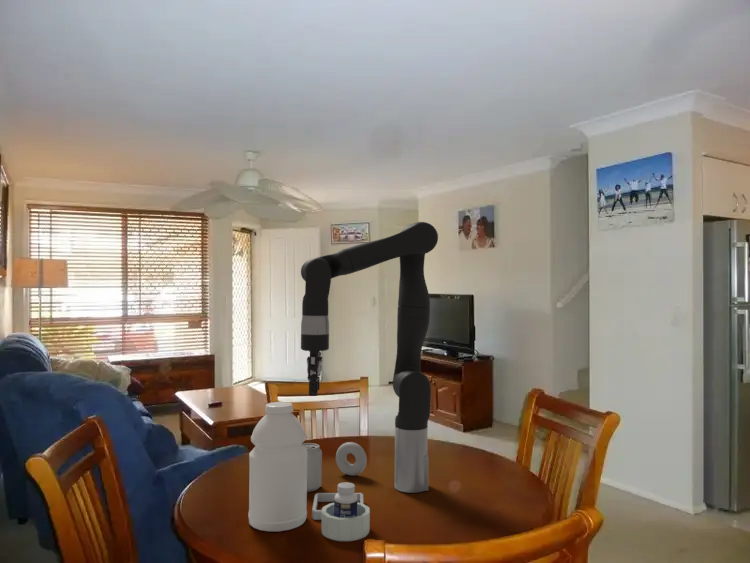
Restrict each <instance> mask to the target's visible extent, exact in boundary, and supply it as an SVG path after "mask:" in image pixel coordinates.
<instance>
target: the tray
mask: <svg viewBox="0 0 750 563" xmlns="http://www.w3.org/2000/svg"><path fill="white" fill-rule="evenodd" d="M337 493H338V492H317V493H315V494H314V498H313V503H312V509H311V519H313V520H315V521H317V520H321V521H322V509H318V505H319V503H323V502H324V503H328V502H331V503H334V497H335V495H336V494H337ZM354 493H355V494H356V495H357V502H358V503H363V504H364V493H362V492H354Z"/></svg>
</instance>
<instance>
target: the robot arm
mask: <svg viewBox="0 0 750 563" xmlns="http://www.w3.org/2000/svg"><path fill="white" fill-rule="evenodd" d="M438 239H439V233H438V231H437V229H436V228H435V227H434V226H433V225H432V224H431V223H429V222H425V221H417V222H414V223H410V224H407V225H406V226H404V227H403V228H402V229H401V231H400V232H398V233H395V234H393V235H390V236H387V237H383V238H380V239H376V240H372V241H368V242H363V243H360V244H355V245H353V246H349V247H345V248H343V249H339V250H337V251H336V252H335V251H334V252H333V253H329V254H326V255H322V256H318V257H314V258H310V259H308V260H306V261H305V262H304V263H303V264H302V265H301V268H300V276H301V278H302V279H303V281H304V282H305V285H304V287H305V288H304V291H305V292H304V295H303V297H302V304H301V306H302V307H301V308H302V309H301V311H302V312H301V315H302V316H301V324H300V349H301V350H302V351H305V352H307V351H308V352H309V356H307V357H306V365H307V368H306V371H307V380H308V395H309V397H316V396H318V391H319V390H320V384H321V382H320V378H321V377H320V376H321V375H322V374H321V373H322V367H323V366H322V365H323V356H322V352H323V351H324V352H325V351H329V349H330V321H329V297H330V296H329V295H330V290H331V283H332V279H334V278H337V277H340V276H346V275H350V274H354V273H357V272H360V271H362V270H365V269H369V268H371V267H374V266H377V265H379V264H382V263H384V262H387V261H390V260H393V259H397V258H399V269H400V270H399V284H398V285H399V286H398V297H397V298H398V300H397V301H398V302H397V320H396V322H397V323H396V325H397V327H396V328H397V330H396V356H395V357H396V358H395V365H394V370H393V371H394V373H393V378H392V387H393V388H392V389H393V391H394V394H395V395H396V397H398V412H397V415H396V416H395V417H394V489H395V490H396V491H399V492H402V493H408V494H409V493H410V494H411V493H412V494H415V493H421V492H428V491H429V458H430V457H429V455H428V433H429V432H428V427H429V426H428V425H429V420H430V417H431V401H432V398H431V397H432V390H431V389H432V387H431V382H430V379H429V378H428V377H427V375H426V374H425V373H423V372H422V366H421V364H422V362H421V360H422V350H423V345H424V342H425V339H426V337H427V333H428V330H429V326H430V316H431V315H430V314H431V312H430V311H431V301H430V294H429V290H428V287H427V283H426V278H425V258H426V254H428V253H430V252H431V251H433V250H434V249H435V247H436V246H437V244H438Z"/></svg>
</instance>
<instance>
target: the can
mask: <svg viewBox="0 0 750 563" xmlns="http://www.w3.org/2000/svg"><path fill="white" fill-rule="evenodd" d="M302 446H303V447H304V448H305V449H306V450H307V452H308V457H307V493H309V492H310V493H311V492H314V491H317V490H319V488H320V487H322V478H323V477H322V473H323V472H322V471H323V470H322V469H323V468H322V466H323V465H322V463H323V460H322V458H323V451H322V449H321V448H320V445H319V444H317V443H314V442H306V443H305V442H303V443H302Z"/></svg>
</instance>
